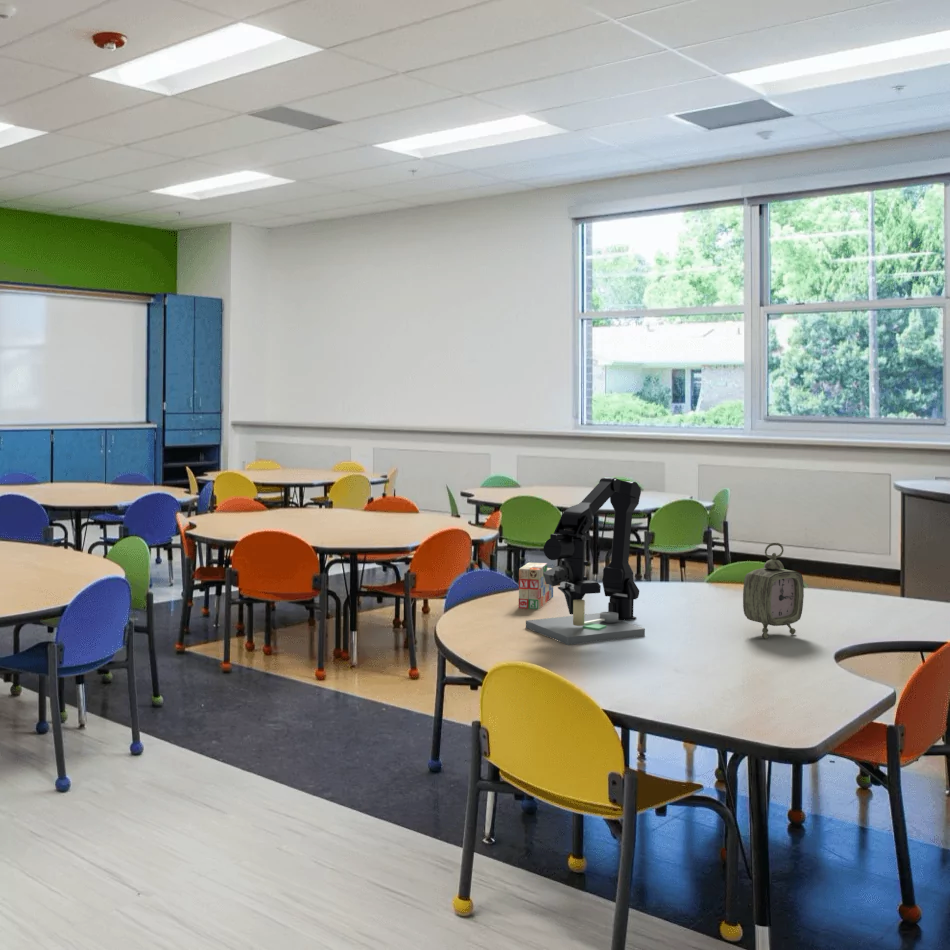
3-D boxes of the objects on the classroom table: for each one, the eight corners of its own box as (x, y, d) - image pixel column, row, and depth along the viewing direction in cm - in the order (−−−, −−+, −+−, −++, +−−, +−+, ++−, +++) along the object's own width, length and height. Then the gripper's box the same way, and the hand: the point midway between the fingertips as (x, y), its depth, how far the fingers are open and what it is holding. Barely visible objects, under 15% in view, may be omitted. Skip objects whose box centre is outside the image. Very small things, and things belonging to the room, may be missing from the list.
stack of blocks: (534, 595, 329) (534, 557, 328) (553, 596, 327) (554, 558, 326) (518, 608, 308) (518, 567, 308) (538, 609, 307) (539, 569, 306)
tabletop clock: (765, 641, 268) (767, 546, 266) (739, 634, 275) (741, 542, 274) (802, 634, 275) (805, 542, 274) (776, 628, 283) (778, 538, 281)
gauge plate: (598, 619, 292) (599, 611, 292) (644, 636, 273) (644, 626, 272) (525, 627, 282) (525, 618, 281) (567, 644, 262) (568, 635, 262)
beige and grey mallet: (608, 618, 284) (608, 592, 283) (622, 621, 280) (622, 595, 280) (567, 625, 274) (568, 599, 273) (581, 629, 270) (581, 602, 269)
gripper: (531, 552, 280) (528, 609, 281) (566, 563, 263) (563, 623, 264) (566, 551, 285) (563, 607, 286) (603, 561, 268) (600, 620, 269)
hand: (571, 614), depth 276 cm, fingers closed
